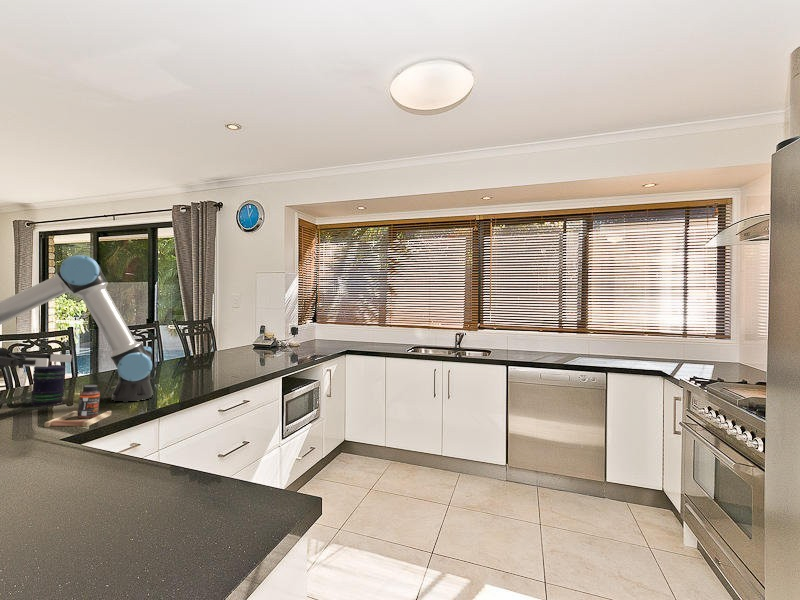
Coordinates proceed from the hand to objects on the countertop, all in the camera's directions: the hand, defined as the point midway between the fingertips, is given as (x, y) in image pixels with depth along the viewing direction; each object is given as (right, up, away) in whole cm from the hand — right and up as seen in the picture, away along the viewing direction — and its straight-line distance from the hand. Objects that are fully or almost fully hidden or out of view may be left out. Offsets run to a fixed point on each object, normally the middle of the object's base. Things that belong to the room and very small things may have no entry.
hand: (60, 360), depth 144 cm
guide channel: (+10, -21, -4) cm, 23 cm away
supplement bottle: (+9, -21, +1) cm, 23 cm away
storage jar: (-20, -20, +17) cm, 33 cm away
